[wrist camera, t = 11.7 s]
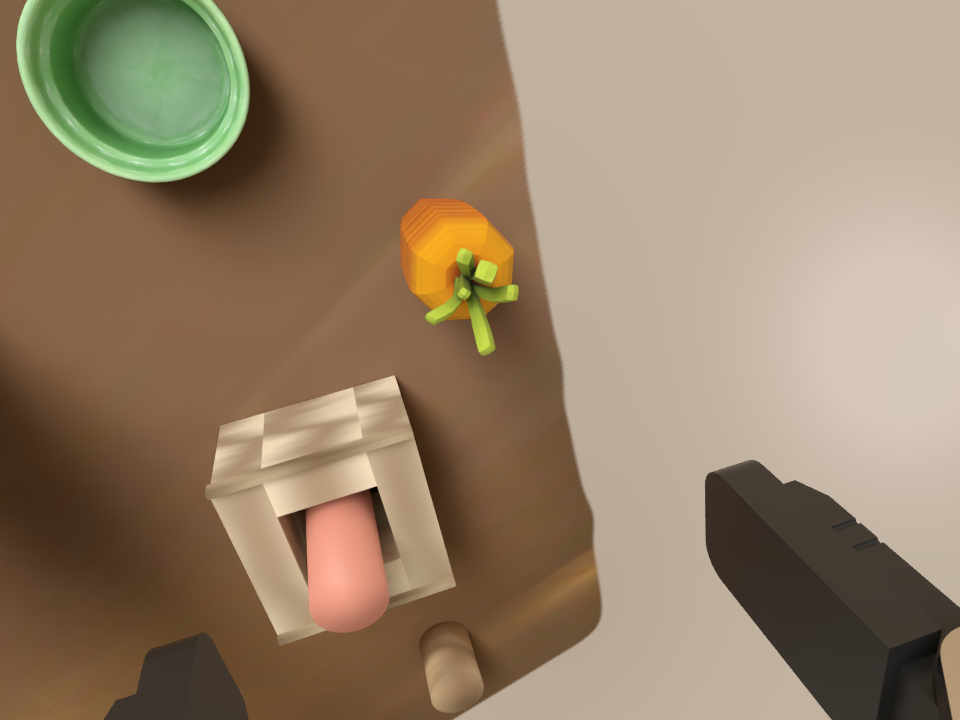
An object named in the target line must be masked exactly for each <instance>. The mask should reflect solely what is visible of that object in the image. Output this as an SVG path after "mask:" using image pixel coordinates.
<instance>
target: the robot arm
mask: <svg viewBox="0 0 960 720" xmlns="http://www.w3.org/2000/svg"><path fill="white" fill-rule="evenodd" d="M705 509H706V510H705V514H706V515H705V518H706V546H707V551H708V555H709V558H710V560H711V563H712V565H713V567H714V569H715V571H716V573H717V574H718V576H719V578H720V579H721V580H722V582H723V583H724V584H725V586H726V587H727V588H728V589H729V591H730V592H731V593H732V594H733V596H734V597H735V598H736V599H737V601H738V602H739V603H740V605H741V606H742V607H743V608H744V609H745V611H746V612H747V613H748V614H749V616H750V617H751V618H752V620H753V621H754V622H755V624H757V626H758V627H759V628H760V630H761V631H762V632H763V634H764V635H765V636H766V637H767V639H768V640H769V641H770V642H771V644H772V645H773V646H774V647H775V649H776V650H777V651H778V653H779V654H780V655H781V656H782V658H783V659H784V660H785V661H786V663H787V664H788V665H789V666H790V668H791V669H792V670H793V671H794V673H795V674H796V675H797V677H798V678H799V679H800V680H801V682H802V683H803V684H804V685H805V687H806V688H807V689H808V690H809V692H810V693H811V694H812V695H813V697H814V698H815V699H816V701H817V702H818V703H819V704H820V705H821V707H822V708H823V709H824V711H825V712H826V713H827V714H828V715H829V717H830V718H831V719H832V720H960V607H958V606H957V605H956V604H955V603H953V602H952V601H951V600H950V599H949V598H948V597H947V596H945V595H944V594H943V593H942V592H941V591H940V590H938V589H937V588H936V587H935V586H934V585H933V584H931V583H930V582H929V581H928V580H927V579H926V578H924V577H923V576H922V575H921V574H920V573H918V572H917V571H916V570H915V569H914V568H913V567H912V566H910V565H909V564H908V563H907V562H906V561H905V560H903V559H902V558H901V557H900V556H899V555H897V554H896V553H895V552H894V551H893V550H892V549H890V548H889V547H888V546H887V545H886V544H885V543H880V542H879V541H878V538H877V537H876V536H875V535H874V534H873V533H872V532H871V531H869V530H868V529H867V528H866V527H865V526H864V525H862V524H861V523H860V524H858V523H857V522H856V519H855V518H854V517H853V516H852V515H851V514H849V513H848V512H847V511H846V510H845V509H844V508H843V507H841V506H840V505H839V504H838V503H836V502H835V501H834V500H833V499H832V498H831V497H829V496H828V495H826V494H823V493H821V492H819V491H817V490H815V489H813V488H811V487H808V486H806V485H804V484H802V483H799V482H797V481H795V480H794V481H791V482H788V483H785V484H783V483H782V482H781V481H780V480H778V479H777V478H776V477H775V476H774V475H773V474H772V473H771V472H770V471H768V470H767V469H766V468H765V467H764V466H763V465H762V464H760V463H759V462H757V461H755V460H749V461H745V462H742V463H739V464H736V465H733V466H730V467H726V468H723V469H720V470H717V471H714V472H711V473H709V474H708V475H707V477H706V480H705ZM104 720H248V714H247V710H246V706H245V703H244V700H243V697H242V695H241V693H240V691H239V689H238V687H237V686H236V684H235V682H234V680H233V678H232V676H231V674H230V673H229V671H228V669H227V667H226V665H225V663H224V661H223V660H222V658H221V656H220V654H219V652H218V650H217V648H216V647H215V645H214V643H213V641H212V639H211V638H210V637H209V635H208V634H206V633H200V634H197V635H194V636H191V637H188V638H185V639H181V640H178V641H175V642H172V643H169V644H166V645H163V646H159V647H156V648H153V649H151V650H150V651H149V652H148V653H147V655H146V657H145V660H144V663H143V667H142V672H141V676H140V680H139V685H138V689H137V693H136V694H135V695H132V696H129V697H126V698H123V699H119V700H116V701H115V703H114V704H113V706H112V708H111V709H110V711H109V712H108V714H107V715H106V717H105V719H104Z"/></svg>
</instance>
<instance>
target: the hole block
mask: <svg viewBox="0 0 960 720" xmlns="http://www.w3.org/2000/svg"><path fill="white" fill-rule="evenodd" d="M376 486H377V487H378V490H379V491H377V492H374V493H371V497H372V503H373V508H374V514H375V519H376V525H377V530H378V536H379V541H380V547H381V552H382V557H383V563H384V568H385V574H386V579H387V585H388V590H389V604H388V607H387V609H386V610H388V609H390V608H393V607H396V606H399V605H402V604H405V603H408V602H411V601H414V600H417V599H420V598H423V597H426V596H429V595H432V594H435V593H438V592H440V591H443V590H446V589H449V588H452V587H455V586H456V583H455V580H454V577H453V573H452V570H451V566H450V562H449V559H448V555H447V552H446V548H445V545H444V541H443V538H442V534H441V531H440V527H439V524H438V520H437V516H436V513H435V509H434V506H433V502H432V499H431V495H430V492H429V488H428V485H427V481H426V478H425V474H424V471H423V467H422V463H421V460H420V456H419V453H418V449H417V446H416V442H415V439H414V435H413V431H412V428H411V425H410V422H409V419H408V416H407V413H406V410H405V406H404V403H403V400H402V397H401V394H400V391H399V387H398V384H397V381H396V378H395V375H394V376H390V377H387V378H384V379H380V380H377V381H373V382H370V383H366V384H363V385H359V386H356V387H352V388H349V389H346V390H342V391H339V392H335V393H332V394H328V395H325V396H321V397H318V398H314V399H311V400H308V401H304V402H301V403H297V404H294V405H290V406H287V407H283V408H280V409H276V410H273V411H270V412H266V413H263V414H259V415H256V416H252V417H249V418H245V419H242V420H238V421H235V422H232V423H228V424H225V425H221V426H220V432H219V438H218V443H217V449H216V455H215V461H214V467H213V473H212V479H211V484H209V485H206V491H205V496H206V498H207V500H212V502H213V504H214V506H215V508H216V510H217V512H218V514H219V516H220V518H221V520H222V522H223V525H224V527H225V529H226V531H227V533H228V535H229V537H230V539H231V541H232V543H233V545H234V547H235V549H236V551H237V553H238V555H239V557H240V559H241V561H242V563H243V565H244V567H245V569H246V572H247V574H248V576H249V578H250V580H251V582H252V584H253V586H254V588H255V590H256V592H257V594H258V596H259V598H260V600H261V602H262V604H263V606H264V608H265V610H266V612H267V614H268V616H269V619H270V621H271V623H272V625H273V627H274V629H275V631H276V633H277V635H278V644H279V646H282V645H285V644H288V643H291V642H293V641H296V640H299V639H302V638H305V637H308V636H311V635H314V634H317V633H320V632H323V631H326V630H325V629H323V628H321V627H320V626H318V625H317V624H316V623H315V622H314V621H313V619H312V617H311V615H310V611H309V592H308V566H307V540H306V514H305V511H304V509H305V508H309V507H312V506H315V505H318V504H321V503H325V502H328V501H331V500H334V499H337V498H341V497H344V496H347V495H350V494H353V493H357V492H360V491H363V490H366V489H369V488H373V487H376Z"/></svg>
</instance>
